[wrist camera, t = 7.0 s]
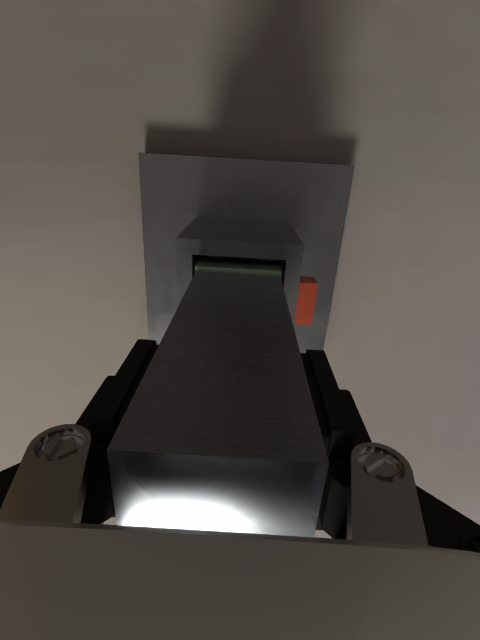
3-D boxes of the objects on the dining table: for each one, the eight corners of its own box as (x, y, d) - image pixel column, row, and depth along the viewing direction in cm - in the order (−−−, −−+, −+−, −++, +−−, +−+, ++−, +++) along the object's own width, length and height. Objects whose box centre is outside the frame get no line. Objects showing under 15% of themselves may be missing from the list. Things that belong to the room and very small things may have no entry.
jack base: (348, 165, 24) (398, 166, 16) (319, 345, 30) (344, 414, 22) (144, 153, 24) (91, 148, 16) (153, 335, 30) (117, 400, 22)
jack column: (278, 260, 19) (336, 459, 6) (271, 330, 21) (304, 598, 8) (200, 255, 19) (100, 444, 6) (200, 326, 21) (120, 587, 8)
